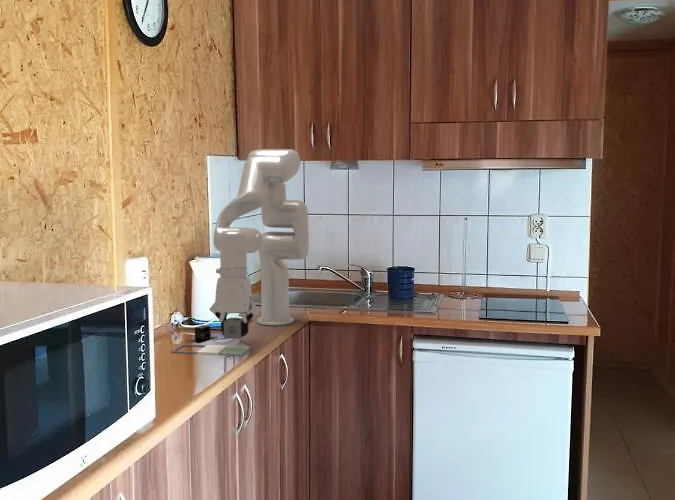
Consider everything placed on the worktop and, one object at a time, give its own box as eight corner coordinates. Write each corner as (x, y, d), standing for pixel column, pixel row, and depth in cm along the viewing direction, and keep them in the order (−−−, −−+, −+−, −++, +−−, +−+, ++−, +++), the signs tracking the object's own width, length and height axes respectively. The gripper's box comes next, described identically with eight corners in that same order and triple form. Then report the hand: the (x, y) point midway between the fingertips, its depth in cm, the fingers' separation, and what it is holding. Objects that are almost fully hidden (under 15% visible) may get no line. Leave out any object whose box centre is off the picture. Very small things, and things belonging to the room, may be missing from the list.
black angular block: (198, 346, 211) (197, 332, 211) (180, 343, 215) (179, 329, 214) (224, 337, 222) (224, 323, 221) (206, 335, 226) (206, 321, 225)
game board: (182, 345, 210) (182, 343, 210) (250, 348, 206) (250, 346, 206) (171, 352, 202) (171, 350, 202) (241, 356, 198) (241, 353, 198)
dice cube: (240, 338, 200) (240, 321, 199) (224, 338, 201) (223, 321, 200) (246, 334, 204) (245, 318, 204) (230, 334, 205) (229, 317, 205)
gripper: (200, 274, 198) (202, 336, 200) (258, 275, 195) (259, 339, 197) (210, 270, 205) (211, 330, 207) (265, 272, 202) (266, 333, 204)
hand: (234, 334), depth 202 cm, fingers closed on dice cube, 5 cm apart
